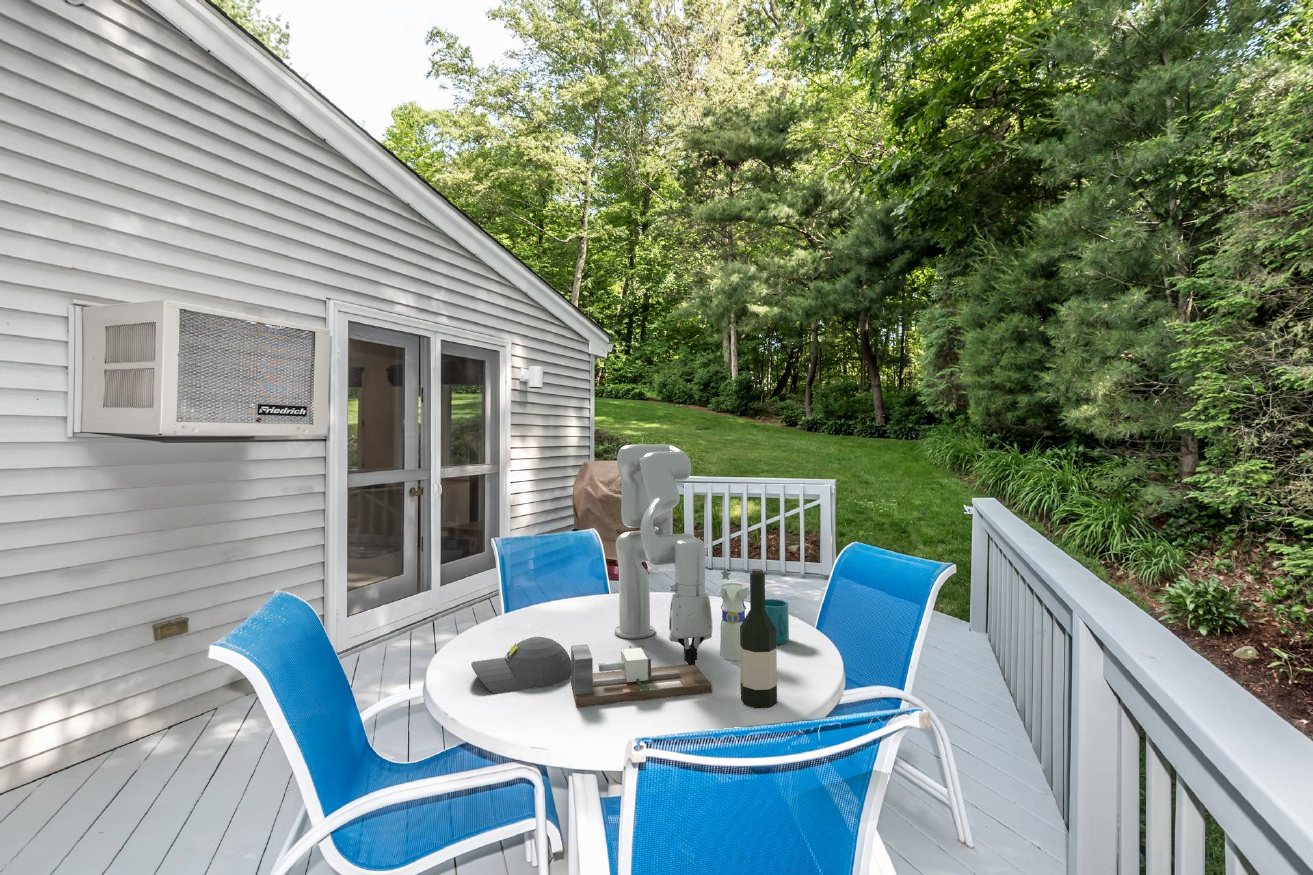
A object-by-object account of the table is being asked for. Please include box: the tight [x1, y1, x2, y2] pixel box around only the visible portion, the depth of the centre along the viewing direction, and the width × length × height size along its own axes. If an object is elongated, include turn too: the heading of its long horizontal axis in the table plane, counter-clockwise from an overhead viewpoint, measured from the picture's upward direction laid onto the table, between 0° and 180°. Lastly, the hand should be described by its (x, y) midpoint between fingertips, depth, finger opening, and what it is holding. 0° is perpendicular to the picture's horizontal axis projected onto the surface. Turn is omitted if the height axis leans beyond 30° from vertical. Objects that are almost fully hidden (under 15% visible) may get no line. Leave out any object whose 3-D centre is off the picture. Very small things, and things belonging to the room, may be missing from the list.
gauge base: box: [570, 643, 713, 708], centre depth 147 cm, size 14×32×10 cm, turn 103°
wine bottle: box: [739, 568, 778, 709], centre depth 139 cm, size 8×8×30 cm
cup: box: [765, 598, 790, 646], centre depth 179 cm, size 9×12×11 cm
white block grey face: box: [598, 647, 652, 685], centre depth 145 cm, size 10×12×5 cm
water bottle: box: [718, 567, 750, 661], centre depth 168 cm, size 8×9×25 cm
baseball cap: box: [471, 636, 571, 695], centre depth 155 cm, size 19×26×12 cm
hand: (690, 663), depth 150 cm, fingers closed
